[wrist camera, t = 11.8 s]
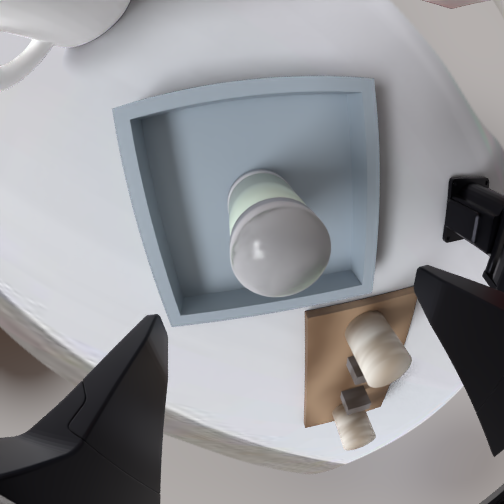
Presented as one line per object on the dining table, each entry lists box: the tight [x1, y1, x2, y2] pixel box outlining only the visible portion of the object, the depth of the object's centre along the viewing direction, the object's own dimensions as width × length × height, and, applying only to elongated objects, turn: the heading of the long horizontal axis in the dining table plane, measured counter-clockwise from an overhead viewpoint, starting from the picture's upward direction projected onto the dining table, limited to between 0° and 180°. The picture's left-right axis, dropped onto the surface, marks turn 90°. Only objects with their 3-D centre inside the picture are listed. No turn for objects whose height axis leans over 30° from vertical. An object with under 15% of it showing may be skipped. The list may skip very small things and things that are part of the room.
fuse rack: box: [304, 286, 417, 450], centre depth 27 cm, size 12×22×7 cm, turn 7°
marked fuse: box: [227, 169, 331, 297], centre depth 16 cm, size 4×4×8 cm
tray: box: [112, 76, 380, 327], centre depth 18 cm, size 16×16×3 cm
